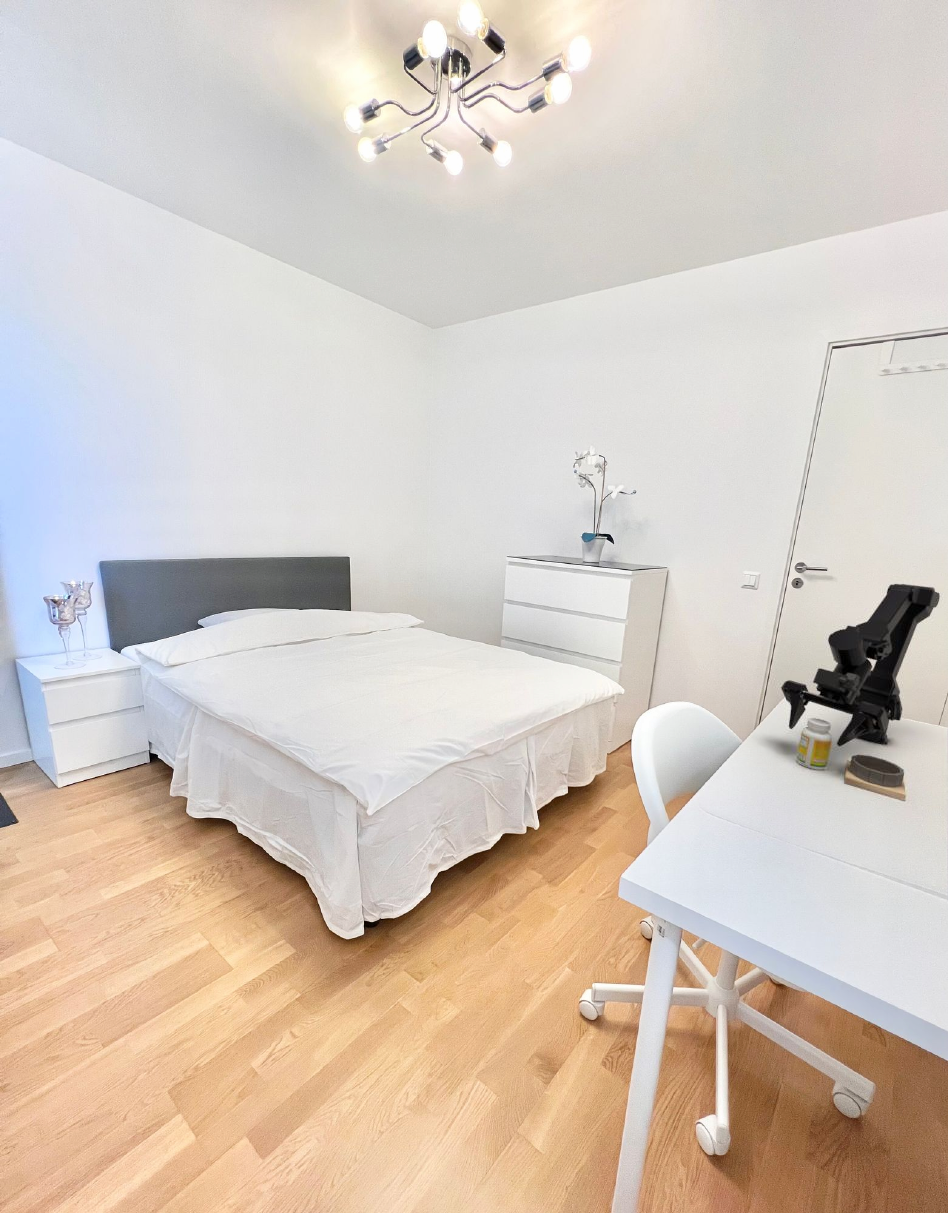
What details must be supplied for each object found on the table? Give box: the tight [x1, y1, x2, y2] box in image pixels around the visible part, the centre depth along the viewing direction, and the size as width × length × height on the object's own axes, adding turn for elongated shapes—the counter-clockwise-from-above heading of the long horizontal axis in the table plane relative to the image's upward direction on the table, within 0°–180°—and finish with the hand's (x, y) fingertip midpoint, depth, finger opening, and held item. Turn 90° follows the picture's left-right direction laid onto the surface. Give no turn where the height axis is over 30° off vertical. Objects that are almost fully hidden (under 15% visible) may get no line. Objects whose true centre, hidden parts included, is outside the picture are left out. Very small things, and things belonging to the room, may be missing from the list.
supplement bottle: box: [796, 717, 833, 771], centre depth 107 cm, size 5×5×10 cm
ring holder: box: [844, 754, 907, 802], centre depth 101 cm, size 10×9×4 cm
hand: (813, 736), depth 106 cm, fingers open, 9 cm apart
